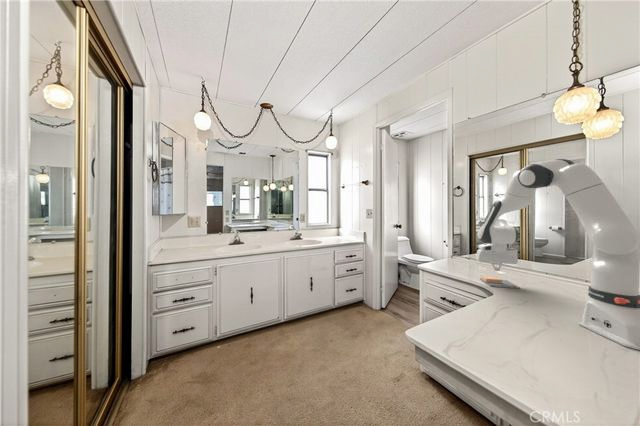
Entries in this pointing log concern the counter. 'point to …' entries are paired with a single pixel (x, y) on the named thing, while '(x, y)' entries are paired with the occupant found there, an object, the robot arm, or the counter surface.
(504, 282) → the mat
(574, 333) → the counter surface
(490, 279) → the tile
